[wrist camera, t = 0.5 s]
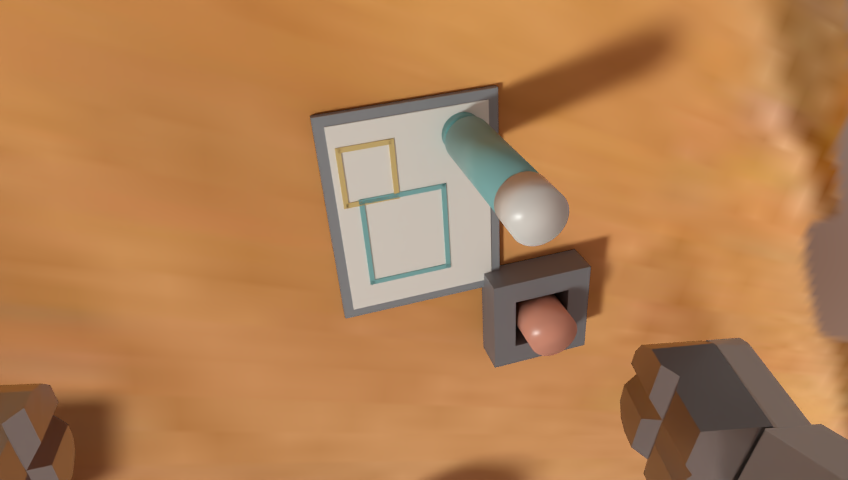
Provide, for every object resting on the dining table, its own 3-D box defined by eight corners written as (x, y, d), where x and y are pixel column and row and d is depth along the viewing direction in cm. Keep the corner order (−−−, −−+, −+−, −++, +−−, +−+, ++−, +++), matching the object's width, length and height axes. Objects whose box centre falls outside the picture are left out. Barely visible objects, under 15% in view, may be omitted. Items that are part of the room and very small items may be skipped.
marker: (437, 113, 47) (509, 196, 35) (484, 104, 47) (570, 183, 36) (439, 158, 49) (509, 251, 37) (485, 150, 49) (567, 239, 38)
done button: (512, 294, 56) (530, 321, 53) (557, 284, 57) (578, 309, 54) (512, 332, 59) (529, 360, 55) (555, 321, 60) (575, 348, 56)
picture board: (309, 115, 45) (311, 119, 44) (495, 85, 48) (499, 88, 47) (344, 314, 54) (346, 319, 54) (497, 280, 57) (500, 284, 57)
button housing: (481, 270, 56) (493, 288, 54) (574, 249, 58) (590, 266, 55) (483, 346, 61) (495, 367, 58) (569, 325, 63) (584, 344, 60)
